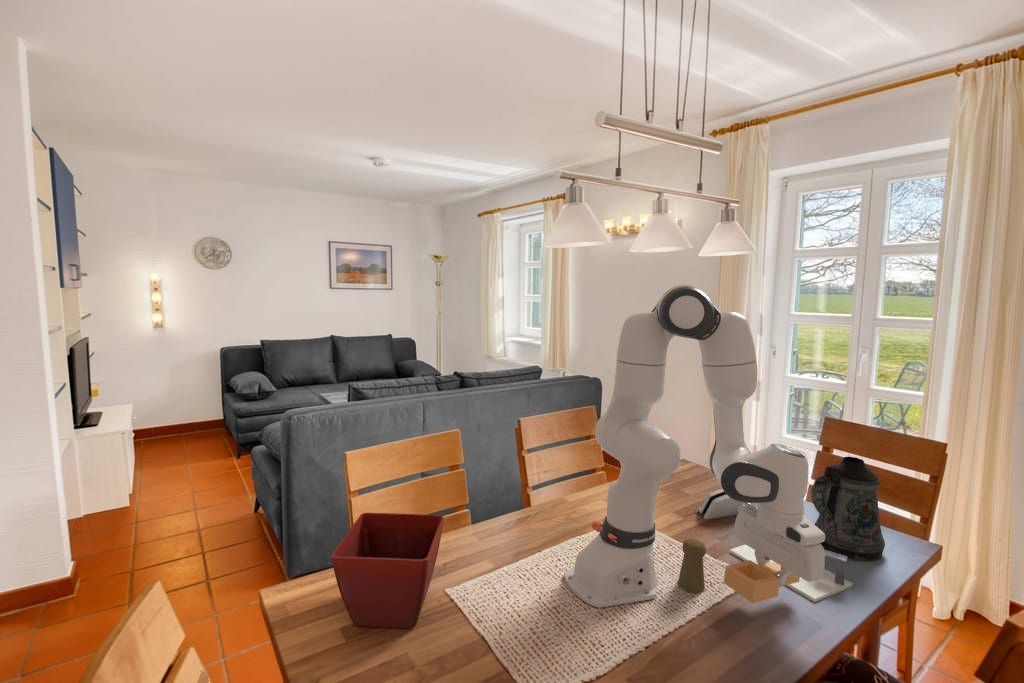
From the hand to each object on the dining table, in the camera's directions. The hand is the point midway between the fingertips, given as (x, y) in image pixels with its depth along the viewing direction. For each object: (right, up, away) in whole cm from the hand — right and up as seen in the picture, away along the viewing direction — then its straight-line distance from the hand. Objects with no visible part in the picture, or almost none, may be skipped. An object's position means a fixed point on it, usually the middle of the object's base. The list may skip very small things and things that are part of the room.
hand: (770, 577), depth 111 cm
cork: (-16, -5, +7) cm, 18 cm away
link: (-1, -2, 0) cm, 2 cm away
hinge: (+9, -2, +44) cm, 45 cm away
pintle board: (+12, -5, +15) cm, 20 cm away
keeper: (+19, -6, +10) cm, 22 cm away
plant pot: (-84, -5, -5) cm, 84 cm away
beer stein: (+34, -4, +26) cm, 43 cm away
